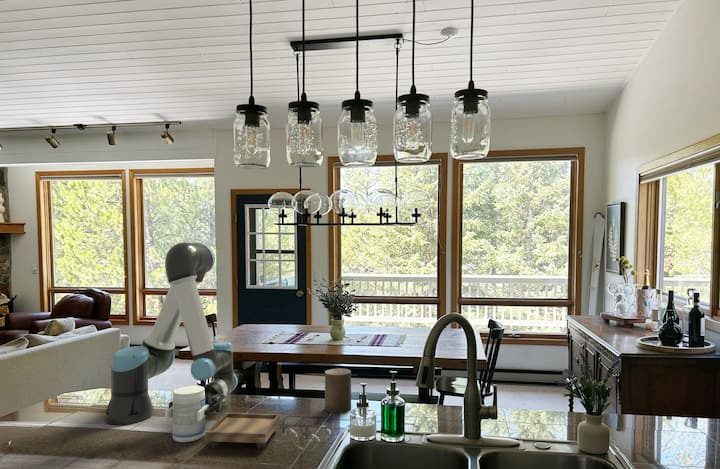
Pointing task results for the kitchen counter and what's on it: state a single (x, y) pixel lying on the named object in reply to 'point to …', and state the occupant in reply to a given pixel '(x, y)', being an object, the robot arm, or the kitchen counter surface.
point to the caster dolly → (243, 428)
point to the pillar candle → (338, 390)
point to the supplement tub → (188, 413)
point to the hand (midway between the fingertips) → (182, 416)
